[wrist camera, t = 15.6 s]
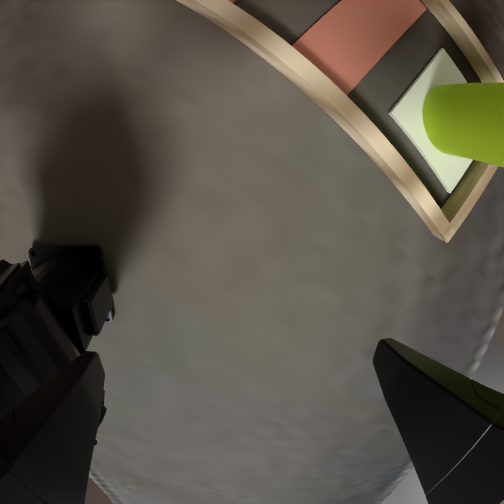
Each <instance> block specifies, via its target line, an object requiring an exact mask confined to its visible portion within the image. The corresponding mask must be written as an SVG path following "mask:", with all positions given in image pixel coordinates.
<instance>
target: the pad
mask: <svg viewBox="0 0 504 504" xmlns="http://www.w3.org/2000/svg"><path fill="white" fill-rule="evenodd" d="M464 83H467V81H466V80H465V78H464V77H463V75H462V74H461V72H460V71H459V69H458V68H457V66H456V65H455V64H454V62H453V61H452V59H451V58H450V57H449V55H448V54H447V53H446V51H445V50H444V49H443V48H442V49H440V50H439V51H438V52H437V53H436V55H435V56H434V57H433V58H432V60H431V61H430V62H429V63H428V65H427V66H426V67H425V68H424V70H423V71H422V72H421V73H420V75H419V76H418V77H417V78H416V80H415V81H414V82H413V83H412V85H411V86H410V87H409V88H408V89H407V91H406V92H405V93H404V94H403V96H402V97H401V98H400V99H399V100H398V102H397V103H396V104H395V105H394V107H393V108H392V109H391V110H390V111H389V115H390V116H391V117H392V118H393V119H394V120H395V122H396V123H397V124H398V125H399V126H400V128H401V129H402V130H403V131H404V133H405V134H406V135H407V136H408V138H409V139H410V140H411V142H412V143H413V144H414V145H415V147H416V148H417V149H418V151H419V152H420V153H421V155H422V156H423V157H424V159H425V160H426V162H427V163H428V164H429V166H430V167H431V169H432V170H433V171H434V173H435V174H436V176H437V177H438V179H439V180H440V182H441V183H442V185H443V186H444V188H445V189H446V191H447V192H448V193H451V192H452V191H453V189H454V188H455V186H456V185H457V183H458V182H459V180H460V179H461V177H462V176H463V174H464V173H465V171H466V170H467V168H468V167H469V165H470V164H471V162H472V161H473V160H472V159H468V158H463V157H458V156H453V155H448V154H444V153H442V152H440V151H439V150H438V149H436V148H435V147H434V146H433V144H432V143H431V141H430V140H429V138H428V136H427V134H426V131H425V128H424V123H423V104H424V100H425V98H426V96H427V94H428V92H429V91H430V90H431V89H432V88H434V87H436V86H439V85H449V84H464Z"/></svg>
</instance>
